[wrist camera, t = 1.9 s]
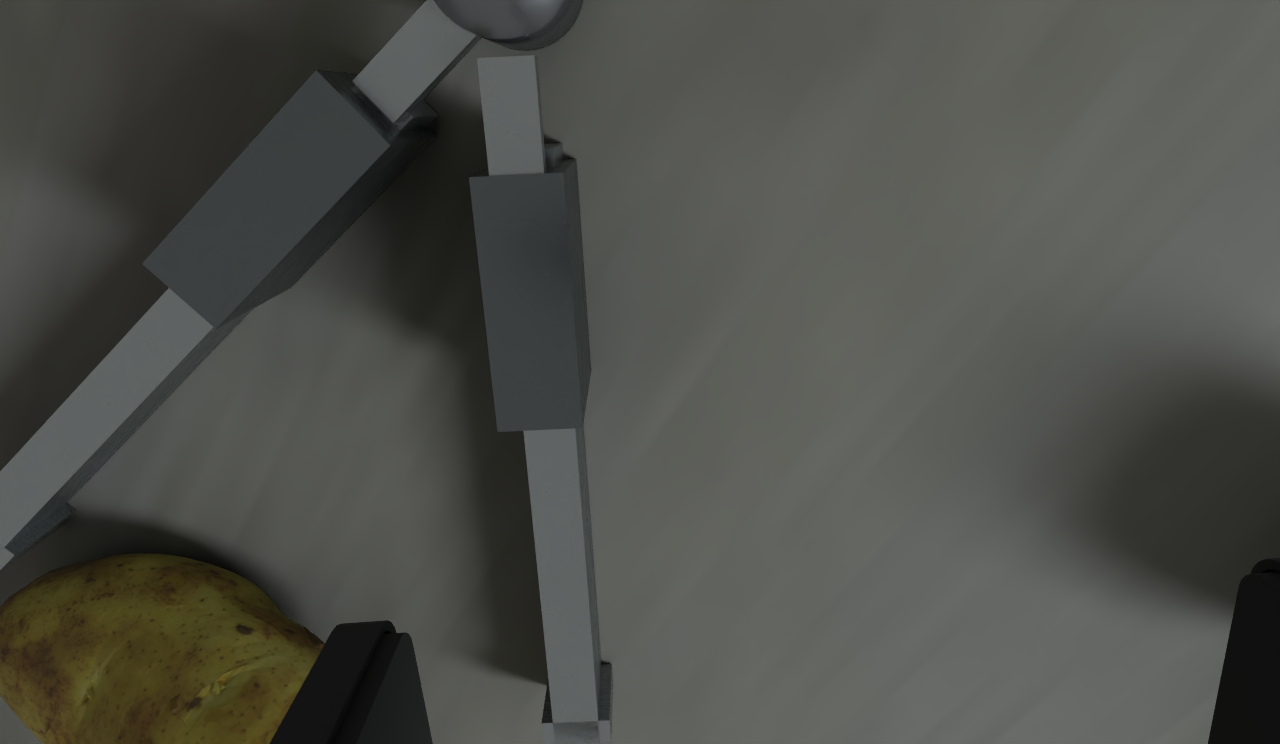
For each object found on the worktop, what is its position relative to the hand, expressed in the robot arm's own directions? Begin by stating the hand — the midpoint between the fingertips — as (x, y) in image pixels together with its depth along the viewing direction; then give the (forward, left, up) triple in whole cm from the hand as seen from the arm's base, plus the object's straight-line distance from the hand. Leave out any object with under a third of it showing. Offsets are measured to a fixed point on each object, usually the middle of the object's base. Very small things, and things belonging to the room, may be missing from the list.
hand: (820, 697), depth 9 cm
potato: (-19, +9, -19) cm, 28 cm away
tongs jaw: (-6, +2, -18) cm, 19 cm away
